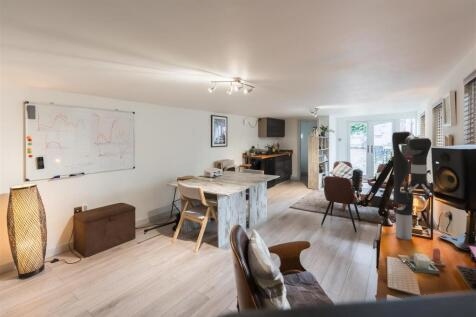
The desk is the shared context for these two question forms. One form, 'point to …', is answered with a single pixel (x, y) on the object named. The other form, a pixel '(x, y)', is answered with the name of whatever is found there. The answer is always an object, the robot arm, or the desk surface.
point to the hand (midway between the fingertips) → (417, 199)
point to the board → (405, 257)
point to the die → (421, 261)
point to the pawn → (436, 255)
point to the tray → (431, 269)
